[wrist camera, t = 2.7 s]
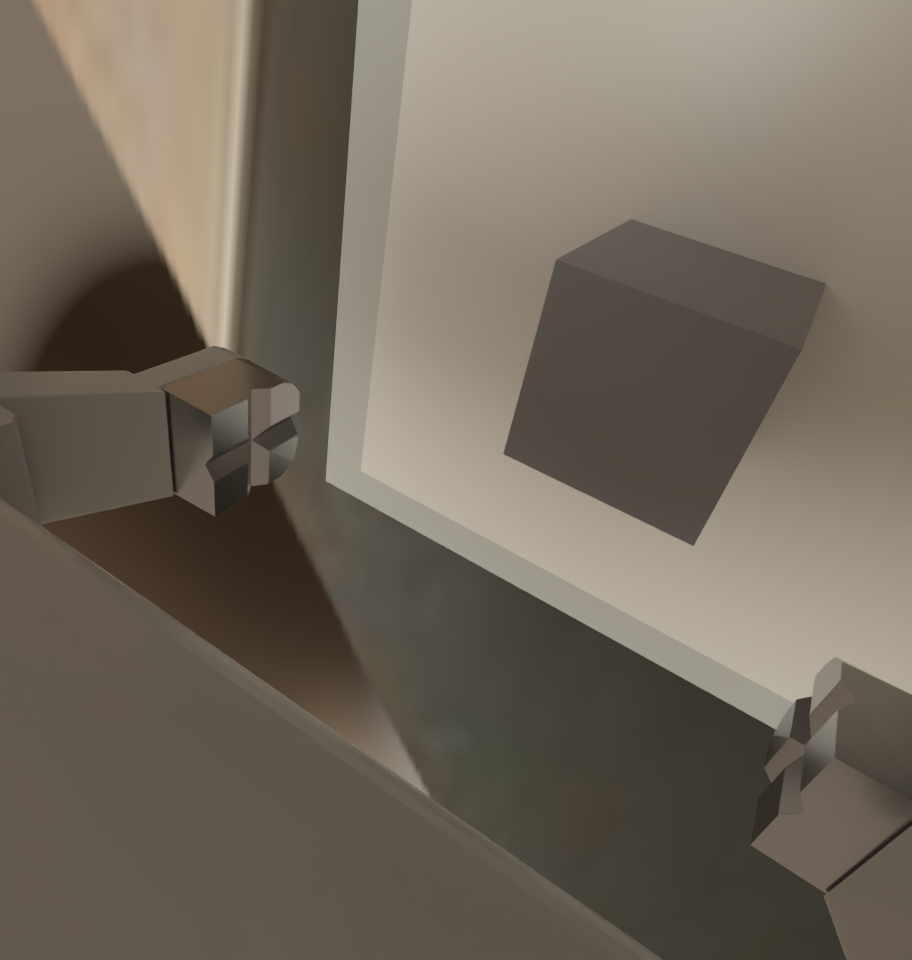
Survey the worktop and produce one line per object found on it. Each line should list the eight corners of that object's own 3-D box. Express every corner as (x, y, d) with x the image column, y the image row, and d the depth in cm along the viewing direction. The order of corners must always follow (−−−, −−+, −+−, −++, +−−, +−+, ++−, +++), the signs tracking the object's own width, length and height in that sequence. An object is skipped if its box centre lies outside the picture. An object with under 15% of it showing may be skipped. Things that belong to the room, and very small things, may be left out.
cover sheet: (457, -205, 13) (282, -312, 9) (1636, -56, 8) (2275, -167, 4) (375, 460, 22) (275, 533, 19) (865, 718, 17) (855, 884, 14)
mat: (414, -346, 13) (384, -371, 12) (2096, -263, 6) (2250, -308, 6) (342, 468, 25) (325, 480, 24) (902, 770, 19) (901, 799, 18)
